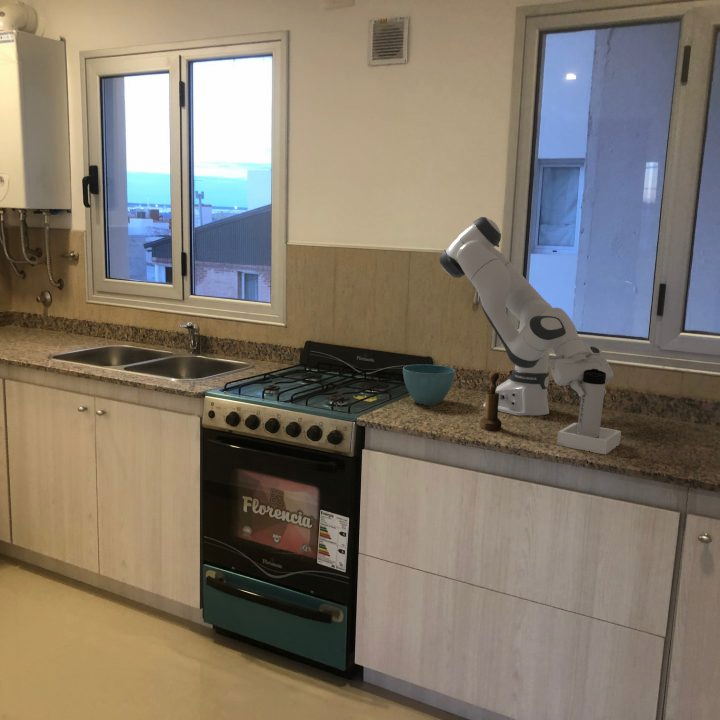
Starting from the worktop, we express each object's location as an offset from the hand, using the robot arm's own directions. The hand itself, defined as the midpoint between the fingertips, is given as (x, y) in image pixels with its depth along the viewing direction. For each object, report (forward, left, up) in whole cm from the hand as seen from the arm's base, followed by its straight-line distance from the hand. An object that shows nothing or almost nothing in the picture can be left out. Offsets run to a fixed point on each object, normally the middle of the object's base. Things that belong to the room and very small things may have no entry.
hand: (593, 394), depth 213 cm
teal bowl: (-62, +14, -15) cm, 65 cm away
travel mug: (-1, 0, -13) cm, 13 cm away
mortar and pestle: (-30, -2, -15) cm, 34 cm away
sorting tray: (0, +1, -15) cm, 15 cm away
